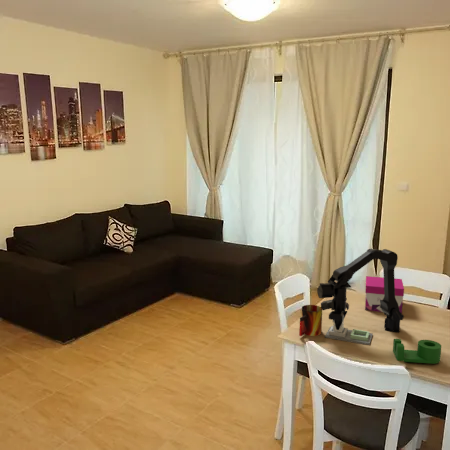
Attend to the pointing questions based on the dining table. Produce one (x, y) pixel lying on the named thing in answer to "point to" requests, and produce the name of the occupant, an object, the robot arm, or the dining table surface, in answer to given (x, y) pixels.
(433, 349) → the green bracket
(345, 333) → the panel
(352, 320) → the dining table surface
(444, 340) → the dining table surface
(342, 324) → the plug
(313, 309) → the mug
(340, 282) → the robot arm
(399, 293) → the decorative box
